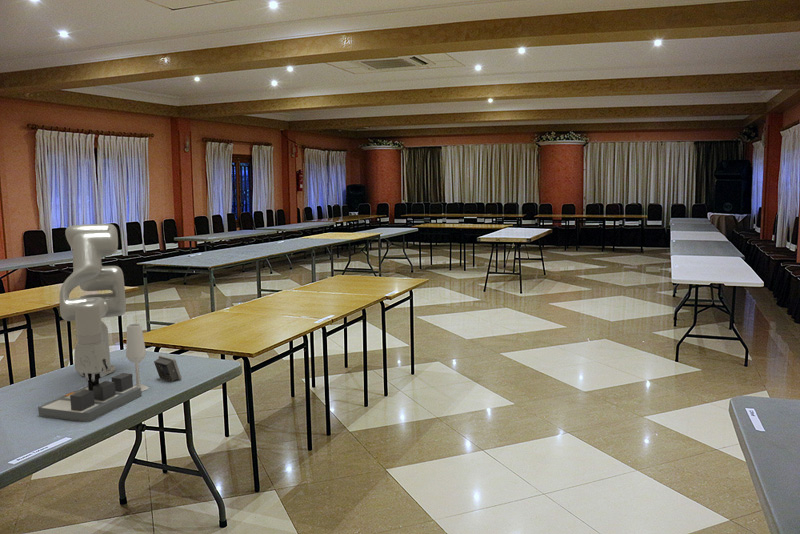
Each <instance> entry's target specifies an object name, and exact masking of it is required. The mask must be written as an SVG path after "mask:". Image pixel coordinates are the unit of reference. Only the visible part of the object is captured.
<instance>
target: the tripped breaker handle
mask: <svg viewBox="0 0 800 534" xmlns="http://www.w3.org/2000/svg"><path fill="white" fill-rule="evenodd" d="M93 391H94V399H95V400H106V399H108V398H110V397H112V396H114V395H116V391H115V382H112V381H106V380H105V381H102V382H99V384H97V385H95V386H93Z"/></svg>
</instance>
